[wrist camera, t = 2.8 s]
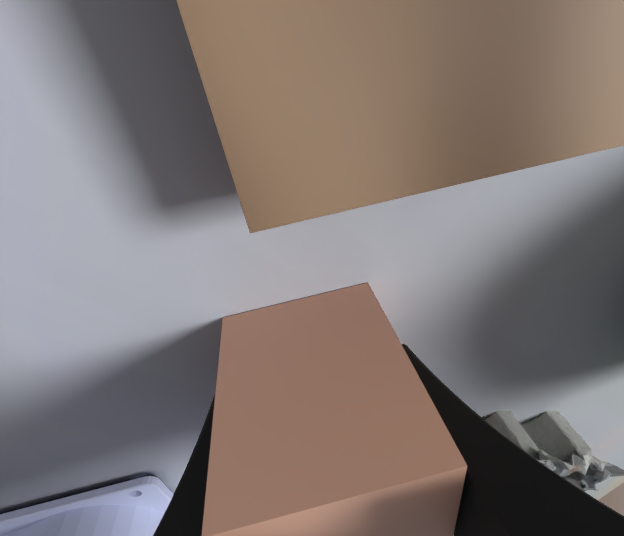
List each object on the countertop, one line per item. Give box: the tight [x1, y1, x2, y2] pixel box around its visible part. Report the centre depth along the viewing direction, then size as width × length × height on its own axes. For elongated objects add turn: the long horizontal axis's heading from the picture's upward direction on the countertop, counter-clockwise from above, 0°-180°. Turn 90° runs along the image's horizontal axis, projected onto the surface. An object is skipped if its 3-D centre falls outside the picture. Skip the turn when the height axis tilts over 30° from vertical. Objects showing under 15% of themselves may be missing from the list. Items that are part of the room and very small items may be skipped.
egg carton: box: [485, 411, 624, 492], centre depth 17 cm, size 11×8×4 cm
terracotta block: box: [202, 283, 467, 536], centre depth 10 cm, size 5×5×6 cm
